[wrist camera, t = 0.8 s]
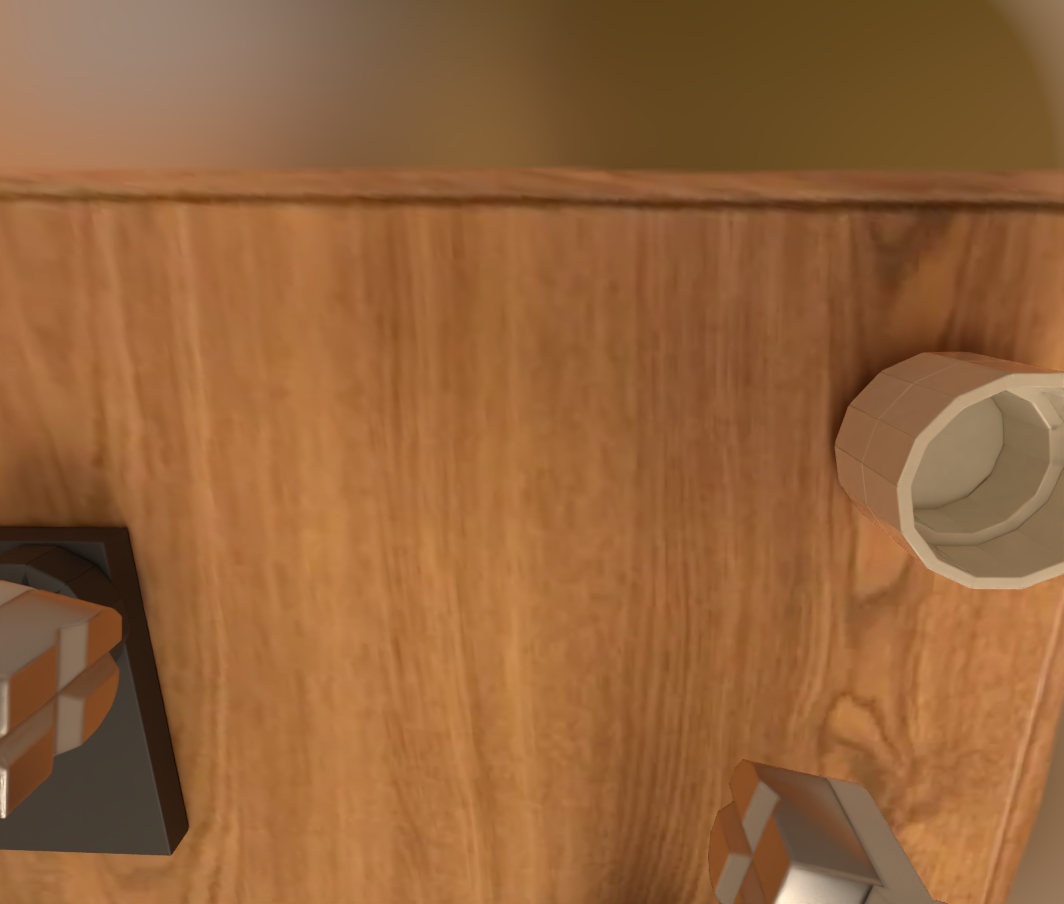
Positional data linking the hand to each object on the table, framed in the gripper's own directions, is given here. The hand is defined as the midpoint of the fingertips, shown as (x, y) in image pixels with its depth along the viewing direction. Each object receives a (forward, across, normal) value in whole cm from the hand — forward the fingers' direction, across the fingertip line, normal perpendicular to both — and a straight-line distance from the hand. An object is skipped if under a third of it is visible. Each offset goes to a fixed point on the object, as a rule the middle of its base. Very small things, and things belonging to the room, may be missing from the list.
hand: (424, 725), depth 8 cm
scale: (+16, +17, +16) cm, 28 cm away
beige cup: (+16, -14, -3) cm, 21 cm away
